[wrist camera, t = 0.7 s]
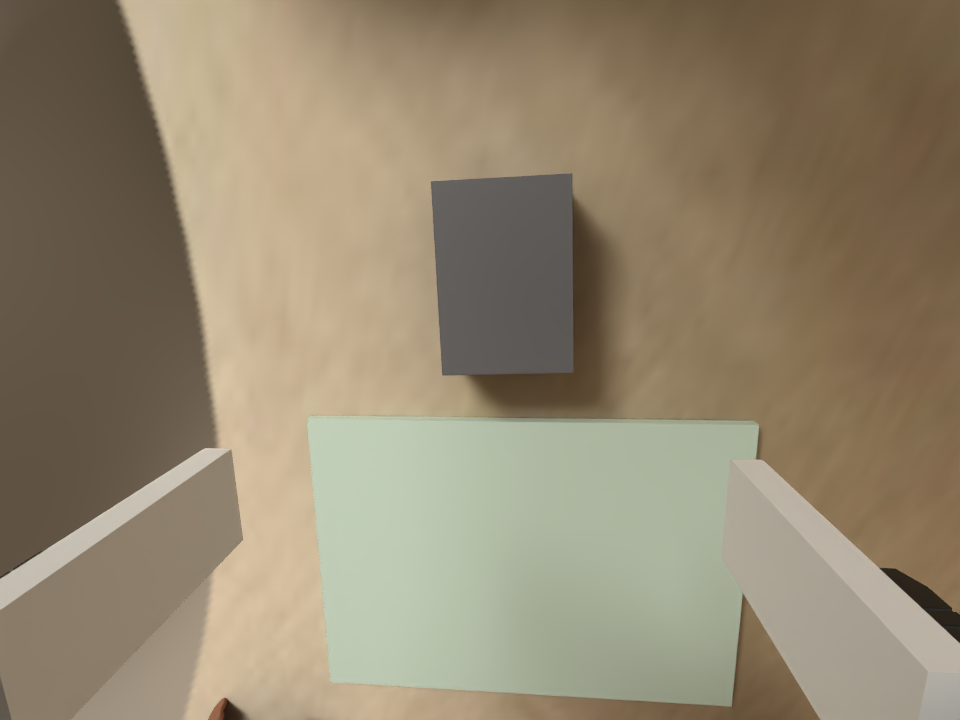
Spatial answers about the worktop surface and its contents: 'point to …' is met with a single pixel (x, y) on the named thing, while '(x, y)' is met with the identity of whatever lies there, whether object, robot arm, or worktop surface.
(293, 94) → the worktop surface
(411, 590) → the rubber mat
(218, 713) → the brown jagged ring
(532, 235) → the dark gray card box
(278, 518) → the worktop surface
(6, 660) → the robot arm
